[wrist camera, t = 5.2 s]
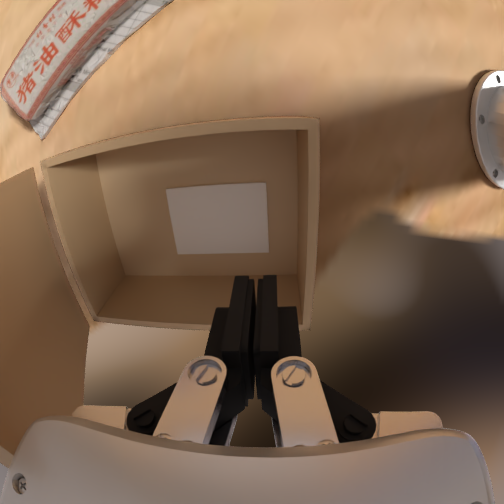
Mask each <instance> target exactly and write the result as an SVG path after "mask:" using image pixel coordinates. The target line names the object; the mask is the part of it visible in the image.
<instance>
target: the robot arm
mask: <svg viewBox="0 0 504 504" xmlns="http://www.w3.org/2000/svg"><path fill="white" fill-rule="evenodd" d="M470 121H471V134H472V140H473V146H474V149H475V153H476V157H477V159H478V161H479V164H480V166H481V168H482V170H483V172H484V173H485V175H486V176H487V177H488V179H489V180H490V181H491V182H492V183H494V184H495V185H496V186H498V187H500V188H502V189H504V71H501V70H495V71H490V72H488V73H486V74H484V75H483V76H482V78H481V79H480V80H479V82H478V84H477V85H476V87H475V91H474V94H473V97H472V104H471V117H470ZM255 377H256V387H257V397H258V399H262V409H263V410H264V411H265V412H266V413H267V414H269V415H270V416H271V417H272V423H273V429H274V435H275V441H276V447H277V448H257V447H254V448H253V447H233V446H229V443H230V440H231V437H232V433H233V430H234V427H235V423H236V420H237V414H238V413H240V412H241V411H243V410H244V409H245V406H248V399H253V398H254V384H255ZM0 504H495V501H494V495H493V488H492V484H491V480H490V476H489V472H488V468H487V465H486V462H485V459H484V457H483V454H482V452H481V450H480V448H479V446H478V445H477V443H476V441H475V440H474V439H473V438H472V437H471V436H470V435H469V434H467V433H465V432H462V431H458V430H454V429H446V428H442V422H441V419H440V418H439V417H438V415H436V414H435V413H433V412H428V411H422V412H380V413H379V414H371V413H370V412H369V411H368V410H366V409H365V408H363V407H361V406H360V405H358V404H356V403H355V402H353V401H352V400H350V399H348V398H347V397H345V396H344V395H342V394H340V393H339V392H337V391H336V390H334V389H333V388H331V387H329V386H327V385H326V384H325V383H323V382H322V381H320V380H319V377H318V373H317V370H316V368H315V367H314V365H313V364H312V363H311V362H310V361H309V360H307V359H305V358H302V356H301V345H300V335H299V325H298V315H297V307H296V306H285V307H278V303H277V275H263V279H258V287H257V301H256V297H255V283H254V279H249V275H243V276H235V278H234V284H233V289H232V294H231V299H230V304H229V307H217V308H216V309H215V313H214V317H213V321H212V325H211V329H210V333H209V338H208V342H207V346H206V350H205V354H204V356H201V357H197V358H195V359H193V360H191V361H190V362H189V363H188V364H187V365H186V367H185V368H184V370H183V372H182V374H181V376H180V378H179V380H178V382H177V383H175V384H173V385H172V386H170V387H168V388H167V389H165V390H163V391H161V392H159V393H158V394H156V395H154V396H153V397H151V398H149V399H147V400H145V401H143V402H141V403H139V404H138V405H136V406H135V407H133V408H132V409H128V408H127V407H126V406H89V405H84V406H80V407H78V408H76V409H75V410H74V411H73V413H72V415H71V416H65V415H55V416H47V417H42V418H39V419H37V420H36V421H34V422H33V423H32V424H31V425H30V426H29V428H28V429H27V430H26V432H25V434H24V435H23V437H22V439H21V441H20V443H19V445H18V447H17V449H16V452H15V454H14V456H13V459H12V461H11V464H10V467H9V470H8V473H7V476H6V479H5V482H4V486H3V490H2V493H1V496H0Z"/></svg>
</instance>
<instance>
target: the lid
mask: <svg viewBox="0 0 504 504" xmlns="http://www.w3.org/2000/svg"><path fill="white" fill-rule="evenodd" d="M89 327H90V326H89V324H88V322H87V320H86V318H85V316H84V314H83V312H82V310H81V308H80V306H79V303H78V301H77V299H76V297H75V295H74V293H73V290H72V288H71V286H70V283H69V281H68V279H67V276H66V274H65V271H64V269H63V266H62V264H61V261H60V259H59V256H58V253H57V250H56V248H55V245H54V242H53V239H52V236H51V233H50V230H49V227H48V223H47V220H46V217H45V213H44V210H43V206H42V202H41V199H40V195H39V191H38V186H37V182H36V177H35V173H34V168H33V167H32V168H30V169H28V170H25V171H23V172H21V173H19V174H17V175H15V176H13V177H11V178H9V179H8V180H6V181H4V182H2V183H0V463H1V464H3V465H4V466H6V467H7V468H9V467H10V464H11V461H12V459H13V456H14V454H15V452H16V449H17V447H18V445H19V443H20V441H21V439H22V437H23V435H24V434H25V432H26V430H27V429H28V428H29V426H30V425H31V424H32V423H33V422H34V421H36V420H37V419H39V418H42V417H47V416H55V415H65V416H71V415H72V413H73V411H74V410H75V409H76V408H78V407H80V406H84V404H83V403H84V378H85V362H86V352H87V343H88V335H89Z"/></svg>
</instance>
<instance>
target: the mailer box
mask: <svg viewBox="0 0 504 504" xmlns="http://www.w3.org/2000/svg"><path fill="white" fill-rule="evenodd" d="M40 163H41V168H42V173H43V178H44V183H45V187H46V191H47V195H48V199H49V203H50V207H51V211H52V214H53V218H54V221H55V224H56V228H57V231H58V234H59V237H60V240H61V243H62V246H63V249H64V252H65V254H66V257H67V260H68V262H69V265H70V268H71V270H72V273H73V275H74V278H75V280H76V283H77V285H78V287H79V290H80V292H81V294H82V296H83V299H84V301H85V303H86V305H87V307H88V309H89V312H90V314H91V316H92V318H93V320H94V321H98V322H106V323H115V324H124V325H135V326H146V327H157V328H171V329H189V330H210V329H211V325H212V321H213V317H214V313H215V309H216V308H217V307H229V304H230V299H231V294H232V289H233V284H234V278H235V276H243V275H249V279H254V283H255V297H256V301H257V287H258V279H263V275H277V303H278V307H285V306H296V307H297V315H298V325H299V331H301V330H310V328H311V319H312V309H313V299H314V287H315V275H316V261H317V244H318V224H319V194H320V122H319V118H313V117H305V116H277V117H252V118H237V119H225V120H214V121H205V122H197V123H189V124H182V125H175V126H169V127H163V128H157V129H152V130H147V131H142V132H137V133H132V134H128V135H123V136H119V137H115V138H110V139H106V140H103V141H99V142H95V143H91V144H88V145H85V146H82V147H79V148H76V149H73V150H70V151H67V152H64V153H61V154H58V155H55V156H53V157H50V158H47V159H45V160H42V161H40Z"/></svg>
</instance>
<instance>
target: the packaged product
mask: <svg viewBox="0 0 504 504" xmlns="http://www.w3.org/2000/svg"><path fill="white" fill-rule="evenodd" d="M172 1H174V0H58V1H57V2H56V3H55V4H54V5H53V6H52V8H51V9H50V10H49V11H48V12H47V13H46V15H45V16H44V17H43V19H42V20H41V21H40V22H39V24H38V25H37V26H36V28H35V29H34V31H33V32H32V33H31V35H30V36H29V38H28V39H27V40H26V42H25V44H24V45H23V47H22V48H21V50H20V51H19V53H18V54H17V56H16V57H15V59H14V61H13V62H12V64H11V66H10V68H9V69H8V71H7V72H6V74H5V76H4V78H3V79H2V82H1V84H0V90H1V92H0V93H1V97H2V98H3V100H4V101H5V102H7V103H8V104H9V105H10V106H11V107H12V108H13V109H14V110H15V112H17V115H19V116H20V117H21V118H23V119H24V120H26V121H29V122H30V124H31V126H32V127H33V129H34V130H35V132H36V133H38V134H39V136H40V138H41V139H43V138H45V137H46V136H47V135H48V133H49V132H50V130H51V129H52V127H53V126H54V125H55V123H56V121H57V120H58V118H59V117H60V115H61V114H62V112H63V111H64V109H65V108H66V107H67V105H68V104H69V103H70V101H71V100H72V99H73V97H74V96H75V95H76V94H77V92H78V91H79V90H80V89H81V88H82V86H83V85H84V84H85V83H86V82H87V81H88V80H89V78H90V77H91V76H92V75H93V74H94V73H95V72H96V71H97V70H98V69H99V68H100V67H101V66H102V65H103V64H104V63H105V62H106V61H107V60H108V59H109V58H110V56H111V55H112V54H113V53H114V52H115V51H116V50H117V49H118V48H119V47H120V46H121V45H122V43H123V42H124V41H125V40H126V39H127V38H129V37H130V36H131V35H132V34H133V33H134V32H135V31H137V30H138V29H139V28H140V27H141V26H142V25H144V24H145V23H146V22H147V21H148V20H150V19H151V18H152V17H153V16H155V15H156V14H157V13H158V12H160V11H161V10H162V9H163V8H164V7H166V6H167V5H168V4H169V3H171V2H172Z"/></svg>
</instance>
